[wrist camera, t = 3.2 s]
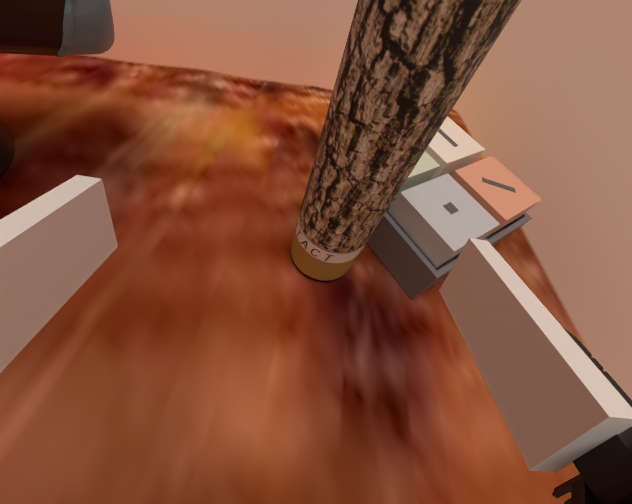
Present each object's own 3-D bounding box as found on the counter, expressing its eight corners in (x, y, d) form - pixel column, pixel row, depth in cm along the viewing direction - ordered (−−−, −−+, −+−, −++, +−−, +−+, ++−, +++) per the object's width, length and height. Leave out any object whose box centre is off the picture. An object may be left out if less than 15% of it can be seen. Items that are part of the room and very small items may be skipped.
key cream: (393, 142, 39) (404, 121, 36) (430, 132, 42) (443, 112, 40) (432, 182, 36) (447, 163, 33) (469, 168, 39) (485, 149, 37)
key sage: (340, 157, 35) (348, 135, 32) (386, 144, 38) (397, 123, 36) (380, 203, 32) (392, 183, 30) (426, 185, 35) (440, 165, 33)
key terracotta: (439, 189, 36) (454, 170, 33) (476, 174, 39) (492, 155, 36) (486, 237, 33) (506, 220, 30) (521, 216, 36) (542, 199, 34)
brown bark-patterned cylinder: (328, 222, 35) (457, -85, 15) (362, 268, 33) (571, -25, 12) (278, 242, 32) (351, -112, 12) (310, 294, 30) (474, -39, 9)
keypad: (320, 184, 39) (330, 152, 34) (414, 153, 47) (431, 125, 43) (411, 299, 32) (437, 278, 28) (501, 241, 40) (531, 218, 36)
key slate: (387, 212, 32) (400, 191, 29) (433, 192, 35) (448, 172, 33) (435, 268, 29) (454, 251, 26) (480, 241, 32) (500, 223, 30)
